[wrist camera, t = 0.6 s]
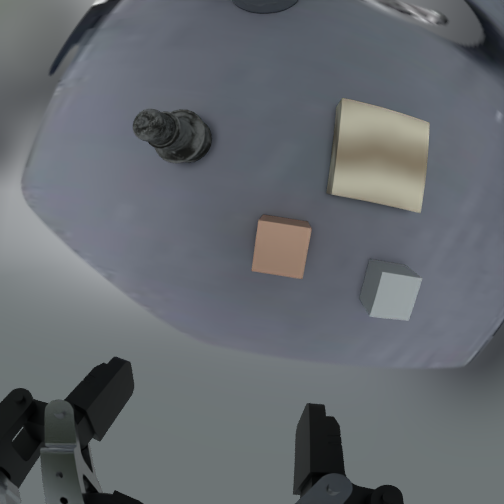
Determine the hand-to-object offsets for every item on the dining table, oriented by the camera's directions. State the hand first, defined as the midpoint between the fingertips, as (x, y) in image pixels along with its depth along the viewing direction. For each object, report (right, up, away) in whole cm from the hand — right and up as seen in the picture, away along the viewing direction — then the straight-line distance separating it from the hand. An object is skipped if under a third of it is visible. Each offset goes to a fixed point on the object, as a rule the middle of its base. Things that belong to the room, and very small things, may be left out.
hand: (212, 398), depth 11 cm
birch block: (+15, +17, +17) cm, 28 cm away
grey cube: (+17, +3, +20) cm, 27 cm away
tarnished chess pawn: (-5, +19, +19) cm, 27 cm away
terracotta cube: (+5, +8, +20) cm, 22 cm away
